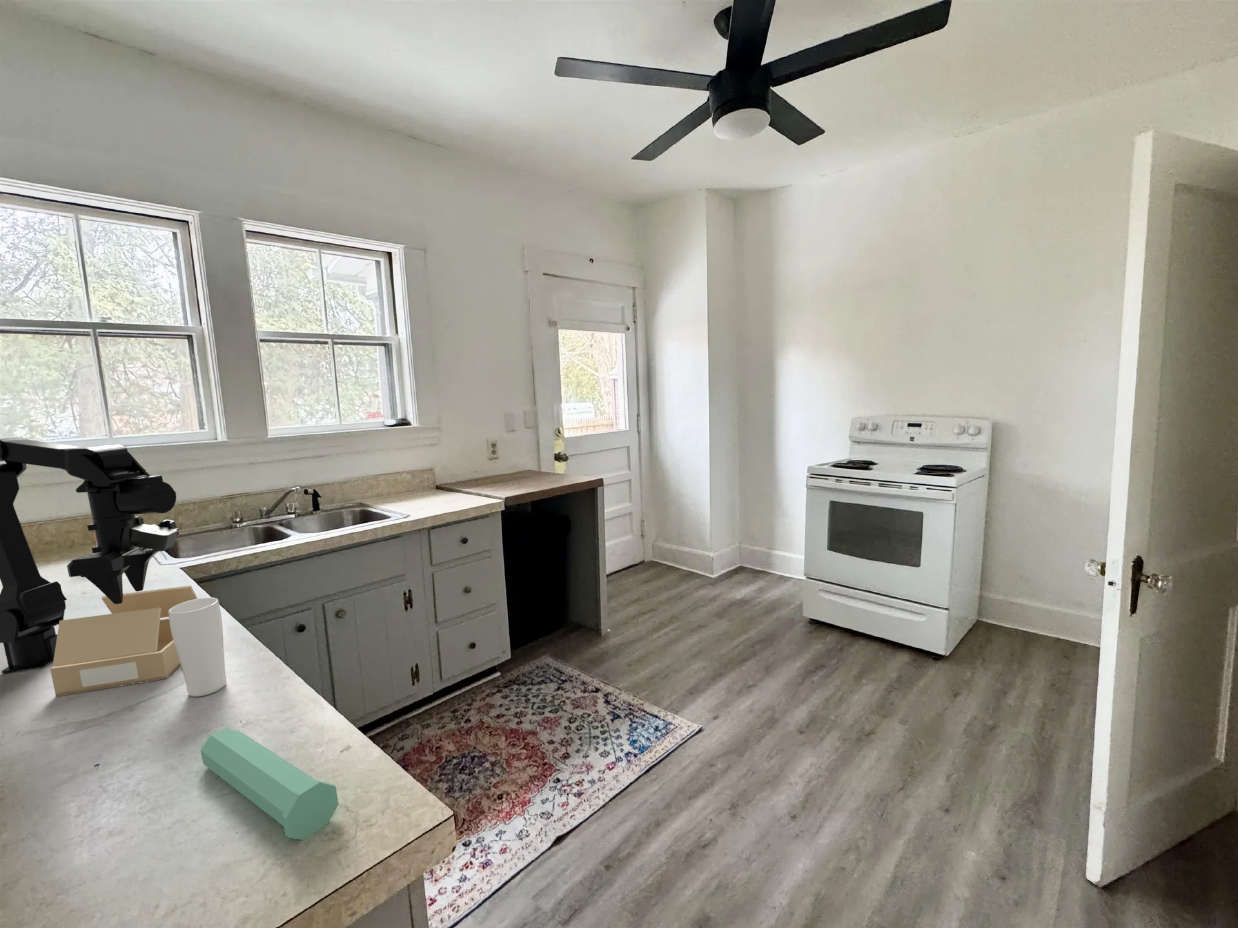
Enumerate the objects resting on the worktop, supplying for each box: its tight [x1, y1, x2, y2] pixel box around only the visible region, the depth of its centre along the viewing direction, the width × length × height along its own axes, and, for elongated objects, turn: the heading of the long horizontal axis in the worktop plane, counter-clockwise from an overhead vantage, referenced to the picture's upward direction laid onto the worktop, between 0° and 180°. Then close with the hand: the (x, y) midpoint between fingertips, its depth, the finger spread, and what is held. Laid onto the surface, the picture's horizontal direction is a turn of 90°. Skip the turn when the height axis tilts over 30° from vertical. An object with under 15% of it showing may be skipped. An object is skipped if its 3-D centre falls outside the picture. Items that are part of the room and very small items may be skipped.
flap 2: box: [101, 585, 199, 619], centre depth 110 cm, size 15×8×1 cm
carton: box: [49, 617, 181, 697], centre depth 104 cm, size 16×18×5 cm
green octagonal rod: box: [200, 727, 339, 841], centre depth 68 cm, size 6×6×25 cm
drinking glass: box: [168, 597, 227, 698], centre depth 92 cm, size 7×7×15 cm
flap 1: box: [52, 608, 161, 667], centre depth 96 cm, size 15×8×1 cm
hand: (129, 596), depth 103 cm, fingers open, 6 cm apart
